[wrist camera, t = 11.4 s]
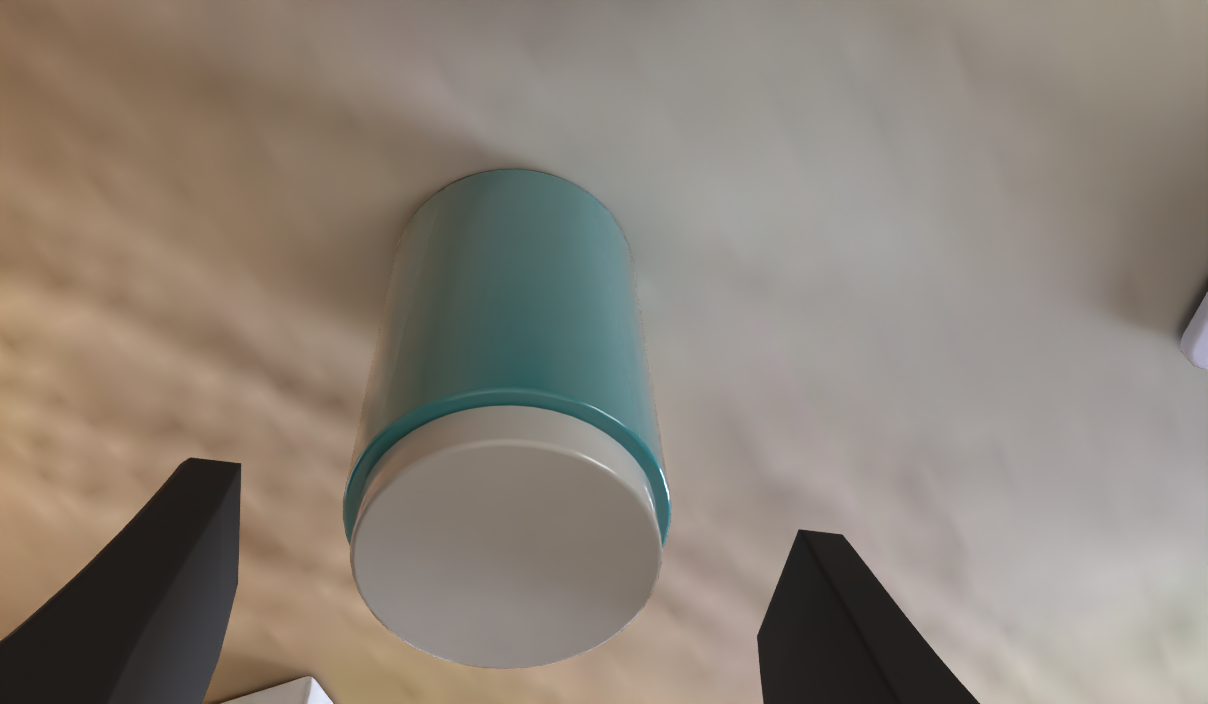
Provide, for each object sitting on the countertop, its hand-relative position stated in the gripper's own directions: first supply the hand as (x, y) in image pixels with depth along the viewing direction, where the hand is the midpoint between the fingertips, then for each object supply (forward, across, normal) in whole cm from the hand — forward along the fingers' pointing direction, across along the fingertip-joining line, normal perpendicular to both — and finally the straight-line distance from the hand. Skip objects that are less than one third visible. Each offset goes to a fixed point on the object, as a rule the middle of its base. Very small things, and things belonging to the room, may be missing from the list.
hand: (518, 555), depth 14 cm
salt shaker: (+7, 0, 0) cm, 7 cm away
